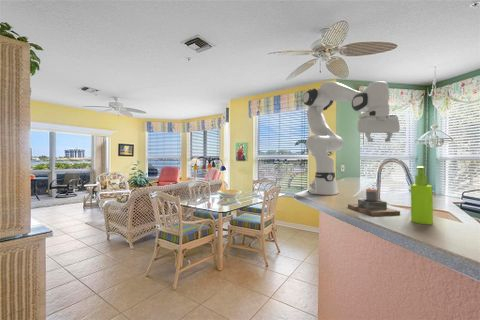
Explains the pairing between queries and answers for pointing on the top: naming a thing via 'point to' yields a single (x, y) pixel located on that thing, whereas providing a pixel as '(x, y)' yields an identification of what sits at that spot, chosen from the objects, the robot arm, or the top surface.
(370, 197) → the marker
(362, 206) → the wooden socket board
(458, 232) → the top surface
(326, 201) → the top surface
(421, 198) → the soap dispenser
